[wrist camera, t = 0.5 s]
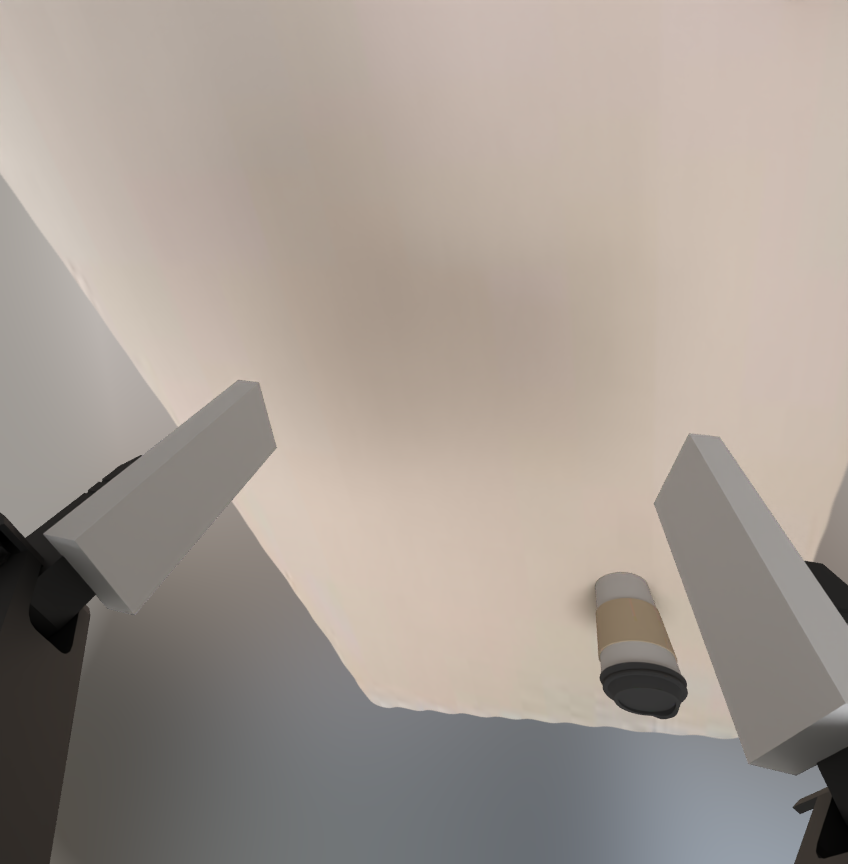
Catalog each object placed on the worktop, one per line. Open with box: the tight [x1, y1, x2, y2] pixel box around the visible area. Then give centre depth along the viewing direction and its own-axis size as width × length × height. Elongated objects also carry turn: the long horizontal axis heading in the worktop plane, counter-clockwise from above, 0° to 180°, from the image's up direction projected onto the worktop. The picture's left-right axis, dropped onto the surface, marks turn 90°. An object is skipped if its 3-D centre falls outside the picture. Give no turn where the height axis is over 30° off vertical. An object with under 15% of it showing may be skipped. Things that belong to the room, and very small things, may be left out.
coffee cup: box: [595, 572, 688, 719], centre depth 49 cm, size 9×9×15 cm
